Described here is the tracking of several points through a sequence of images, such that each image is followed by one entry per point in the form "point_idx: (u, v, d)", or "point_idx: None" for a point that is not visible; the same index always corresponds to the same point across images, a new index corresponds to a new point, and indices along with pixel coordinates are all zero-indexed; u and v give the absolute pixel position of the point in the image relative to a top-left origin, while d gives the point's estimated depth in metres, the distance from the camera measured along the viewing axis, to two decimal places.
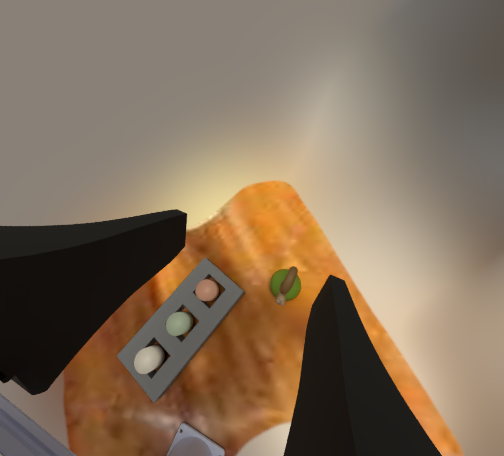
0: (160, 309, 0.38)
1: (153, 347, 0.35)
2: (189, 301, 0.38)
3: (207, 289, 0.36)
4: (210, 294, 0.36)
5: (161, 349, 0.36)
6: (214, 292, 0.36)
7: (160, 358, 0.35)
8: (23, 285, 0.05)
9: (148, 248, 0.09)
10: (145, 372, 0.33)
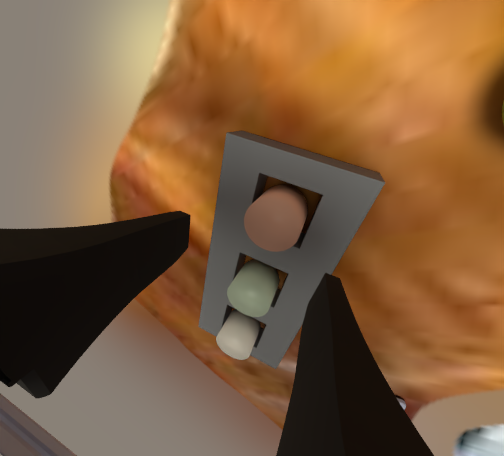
0: (210, 268, 0.20)
1: (234, 324, 0.20)
2: (250, 244, 0.17)
3: (276, 224, 0.13)
4: (288, 233, 0.13)
5: (248, 317, 0.21)
6: (297, 225, 0.12)
7: (252, 334, 0.20)
8: (29, 289, 0.05)
9: (151, 250, 0.09)
10: (242, 358, 0.21)
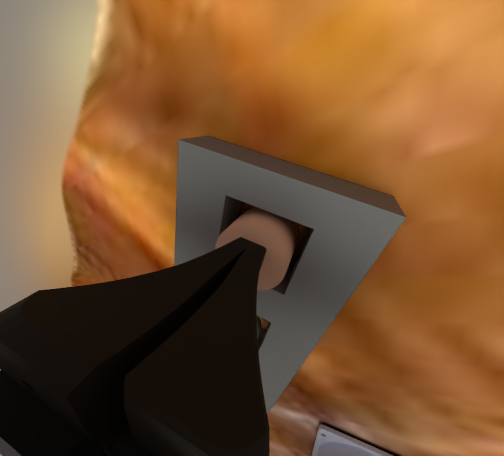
0: None
1: None
2: None
3: None
4: (270, 269, 0.10)
5: None
6: (282, 261, 0.09)
7: None
8: (142, 360, 0.04)
9: None
10: None
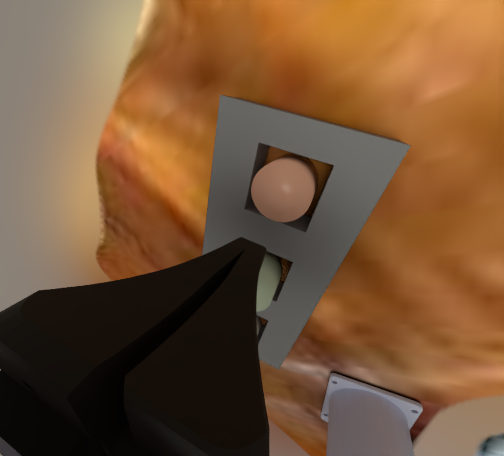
0: None
1: None
2: (249, 229, 0.15)
3: (286, 191, 0.12)
4: (298, 200, 0.12)
5: None
6: (309, 191, 0.12)
7: None
8: (142, 360, 0.04)
9: None
10: None
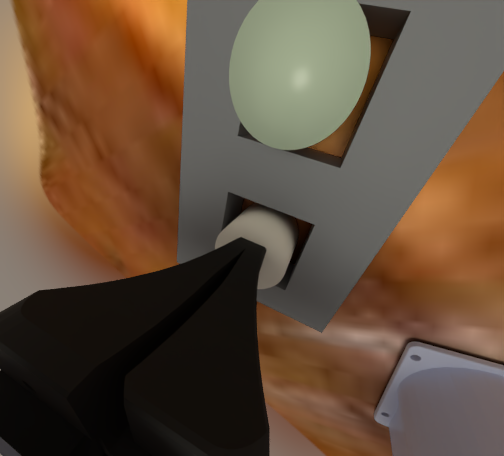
0: (190, 90, 0.09)
1: (251, 215, 0.10)
2: None
3: None
4: None
5: None
6: None
7: (288, 234, 0.10)
8: (142, 360, 0.04)
9: None
10: (268, 284, 0.10)
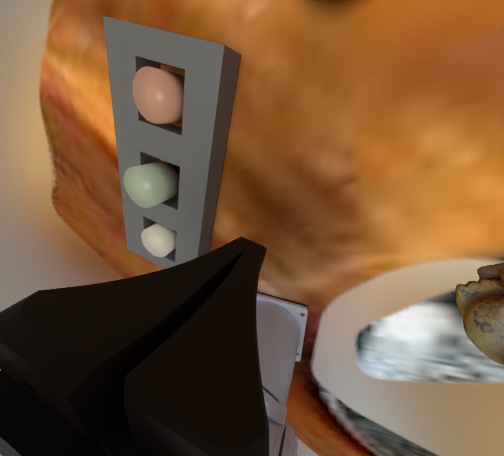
0: (122, 175, 0.21)
1: (156, 224, 0.23)
2: (145, 140, 0.19)
3: (154, 93, 0.15)
4: (163, 100, 0.15)
5: None
6: (168, 90, 0.15)
7: (172, 233, 0.23)
8: (142, 360, 0.04)
9: None
10: (163, 255, 0.23)
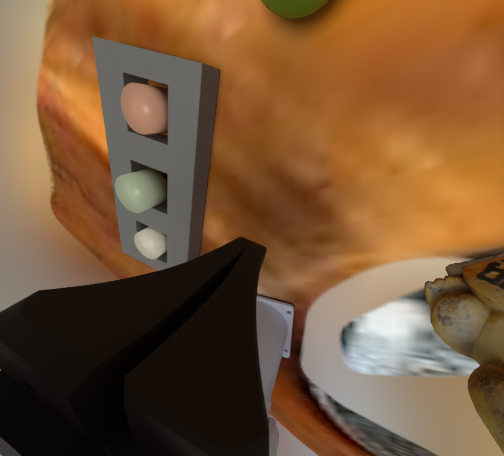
0: None
1: (148, 228, 0.24)
2: (135, 149, 0.20)
3: (141, 106, 0.17)
4: (149, 113, 0.17)
5: None
6: (153, 104, 0.16)
7: (163, 236, 0.24)
8: (142, 360, 0.04)
9: None
10: (155, 256, 0.24)
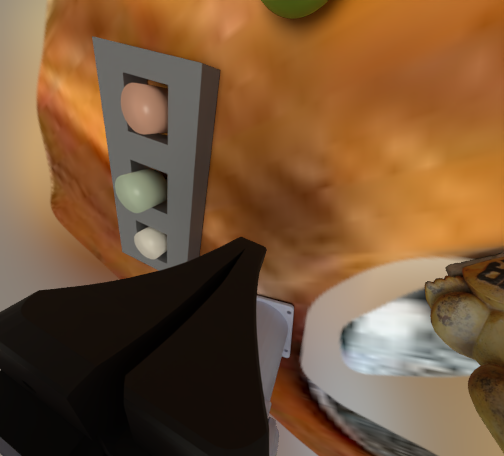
0: None
1: (148, 228, 0.24)
2: (135, 149, 0.20)
3: (141, 106, 0.17)
4: (149, 113, 0.17)
5: None
6: (153, 104, 0.16)
7: (163, 236, 0.24)
8: (142, 360, 0.04)
9: None
10: (155, 256, 0.24)
